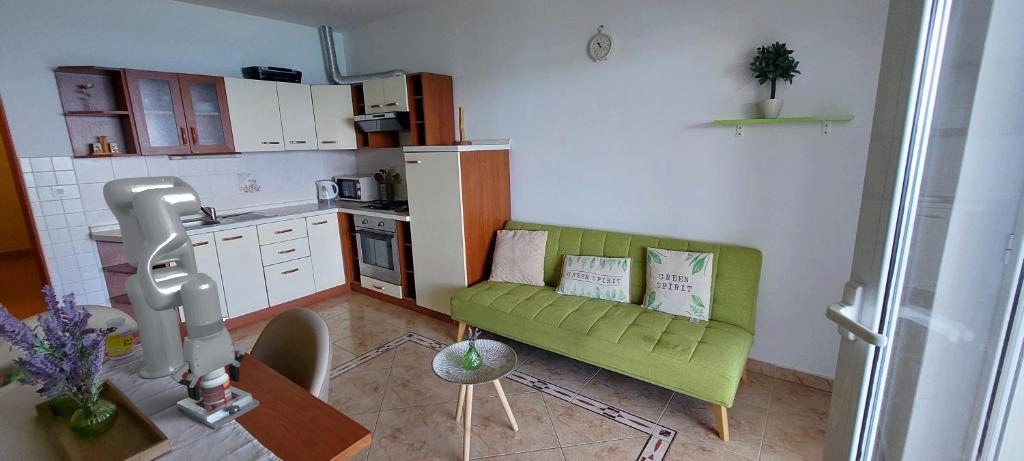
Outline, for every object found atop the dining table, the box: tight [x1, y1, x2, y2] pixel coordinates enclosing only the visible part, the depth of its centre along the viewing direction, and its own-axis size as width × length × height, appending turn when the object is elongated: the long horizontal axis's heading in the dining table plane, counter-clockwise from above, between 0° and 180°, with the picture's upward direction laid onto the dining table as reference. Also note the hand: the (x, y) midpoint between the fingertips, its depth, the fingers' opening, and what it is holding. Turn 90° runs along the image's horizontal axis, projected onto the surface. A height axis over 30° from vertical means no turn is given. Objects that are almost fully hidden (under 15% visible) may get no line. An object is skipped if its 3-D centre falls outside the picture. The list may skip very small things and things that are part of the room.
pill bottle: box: [199, 366, 233, 411], centre depth 111 cm, size 6×6×11 cm
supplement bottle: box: [105, 316, 136, 361], centre depth 142 cm, size 7×7×13 cm
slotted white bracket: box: [176, 385, 260, 430], centre depth 112 cm, size 17×11×3 cm, turn 62°
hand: (216, 389), depth 111 cm, fingers open, 9 cm apart
